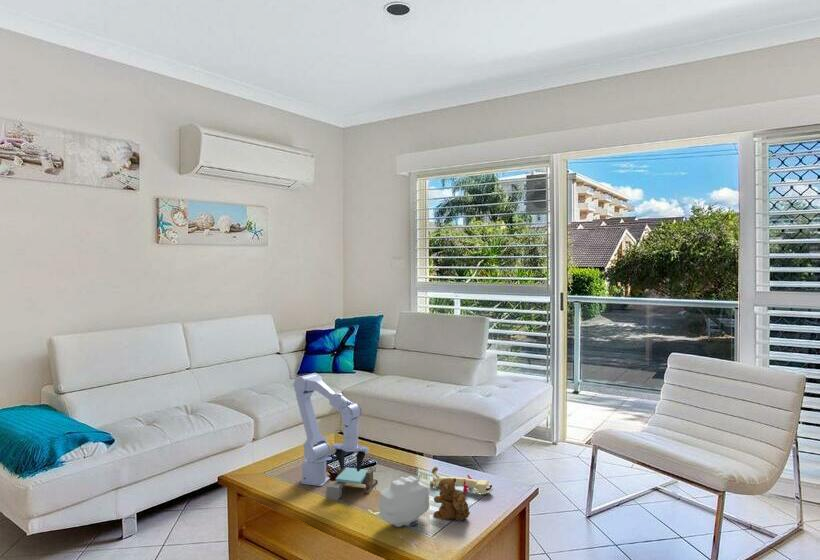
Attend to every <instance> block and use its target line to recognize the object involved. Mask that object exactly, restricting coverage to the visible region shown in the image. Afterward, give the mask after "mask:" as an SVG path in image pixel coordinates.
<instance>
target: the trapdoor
mask: <svg viewBox="0 0 820 560" xmlns="http://www.w3.org/2000/svg"><path fill="white" fill-rule="evenodd" d="M368 470H369V469H363V468H361V470H360V471H359V472H358V471H357V467H345V469H344V470H343V471H342V472H341V474H340V475H339V476H338V477H337V476H336V477H335V482H337V481H338V482H346V484H354V485H361V484H362V485H363V484H364V485H366V472H367V471H368Z"/></svg>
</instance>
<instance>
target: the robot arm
mask: <svg viewBox="0 0 820 560" xmlns="http://www.w3.org/2000/svg"><path fill="white" fill-rule="evenodd" d="M293 388H294V392H295V398H296V401H297V405H298V410H299V413H300V416H301V421H302V424H303V428H304V431H305V435H306V440H305V442H304V443H303V449H304V453H303V454H304V455H303V456H304V458H305V459H304V460H303V461H302V465H301V482H300V483H301V484H303V485H309V486H310V485H311V486H318V487H323V486H324V485H325V484H327V482H328V481H329V480H330V479H331V477H329V476H327V460H328V456H329V455H330V454H331V446H330V443H328V441H327V438H326V437H325V436H324V435H322V434H321V433H320V428H319V426H318V421H317V417H316V414H315V410H314V407H313V403H312V400H311V396H313V393H314V392H315V391H316V392H318V393H319V394H320V395H322V397H324V398H326V399H328V402H329V405H330V406H332V407H333V408H334V409H335V410H336V411H337V412H339V414H340V417H341V419H342V425H343V432H342V433H343V436H342V437H343V439H342V441H343V443H333V444H332V450H333V451H335V452H334V455H335V456H336V458H337V460H338V464H339V467H340V468H341V469H343V468H344V466H345V456H346V452H354V453H356V455H355V457H356V469H357V471H358V472H359V471H360V470H361V469H362V464H363V461H364V458H365V456H366V455H368V454H369V453H370V447H369V446H365V445H360V444H359V418H360V416H361V414H362V408H361V405H360V404H359V403H358V402H353V401H350V400H349V399H348V398H346V397H345V396H344V394H343V393H342V392H335V391H333V389H331V388H330V387H329V386H328V385H327V383H325V382H324V380H323V377H322V376H321V375H320V374H319V373H317V372H313V373H309V374H305V375H301V376H300V375H299V376H297V377H296V378H295V379H294V382H293Z"/></svg>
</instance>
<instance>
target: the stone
mask: <svg viewBox="0 0 820 560" xmlns="http://www.w3.org/2000/svg"><path fill="white" fill-rule="evenodd" d="M342 492H343V487H342V483H339V482H337V481H330V482H329V483H328V484H327V486H326V500H328V499H331V501H339V500H340V498H341V497H342V495H343V493H342Z"/></svg>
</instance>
